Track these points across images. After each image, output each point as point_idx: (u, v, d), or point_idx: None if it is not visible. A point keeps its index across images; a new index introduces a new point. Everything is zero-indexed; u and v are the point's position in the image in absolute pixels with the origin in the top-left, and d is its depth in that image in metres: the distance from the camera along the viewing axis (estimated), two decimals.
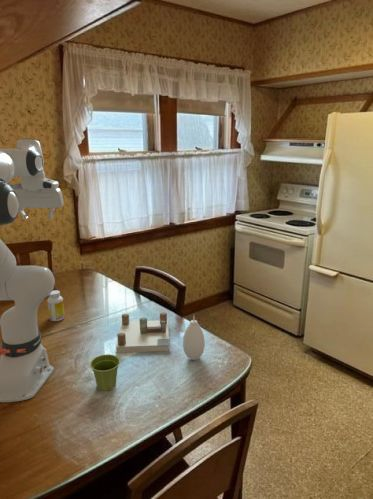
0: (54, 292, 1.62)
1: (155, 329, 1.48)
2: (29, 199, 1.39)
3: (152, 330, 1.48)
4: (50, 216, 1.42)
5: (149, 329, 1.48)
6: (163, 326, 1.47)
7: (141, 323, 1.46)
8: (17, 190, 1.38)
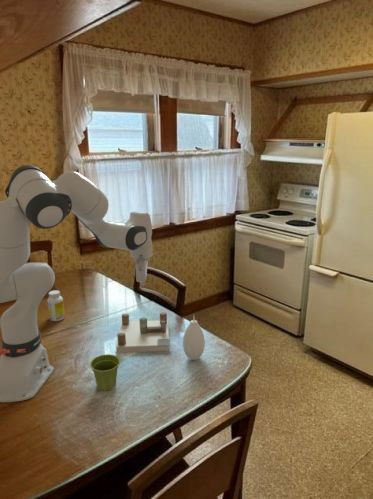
0: (54, 292, 1.62)
1: (155, 329, 1.48)
2: (146, 266, 1.46)
3: (152, 330, 1.48)
4: None
5: (149, 329, 1.48)
6: (163, 326, 1.47)
7: (141, 323, 1.46)
8: (145, 261, 1.41)
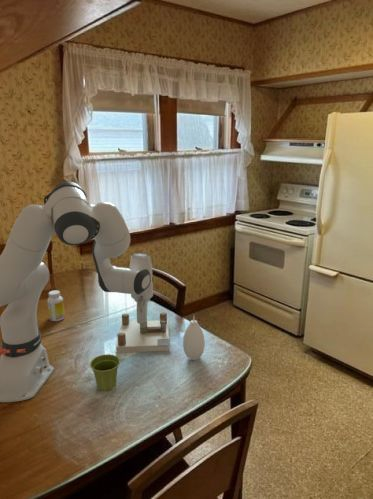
0: (54, 292, 1.62)
1: (155, 329, 1.48)
2: (146, 306, 1.47)
3: (152, 330, 1.48)
4: None
5: (149, 329, 1.47)
6: (163, 326, 1.47)
7: None
8: (146, 303, 1.43)
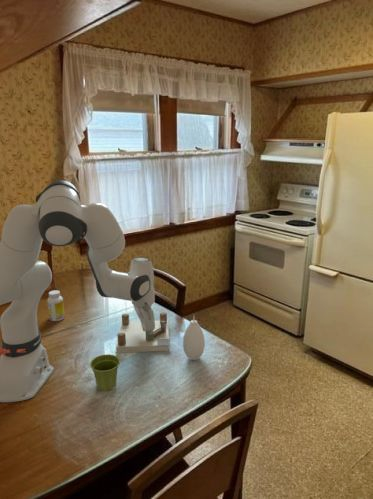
0: (54, 292, 1.62)
1: (159, 331, 1.46)
2: None
3: (157, 334, 1.45)
4: None
5: (154, 334, 1.44)
6: (165, 326, 1.48)
7: None
8: (151, 309, 1.37)
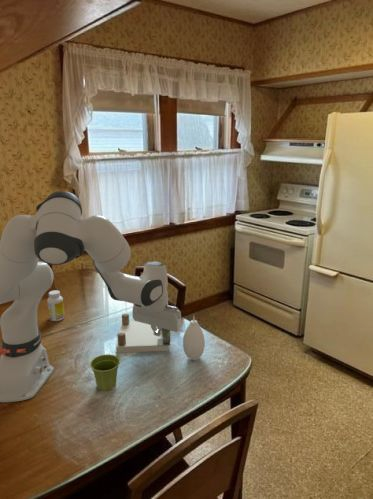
0: (54, 292, 1.62)
1: None
2: None
3: None
4: None
5: None
6: None
7: (169, 331, 1.40)
8: None
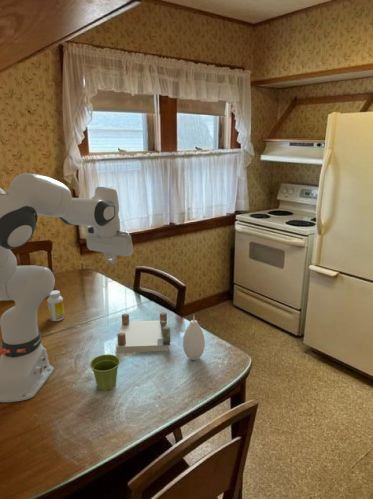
0: (54, 292, 1.62)
1: None
2: None
3: None
4: None
5: None
6: (165, 325, 1.48)
7: (169, 331, 1.40)
8: None
